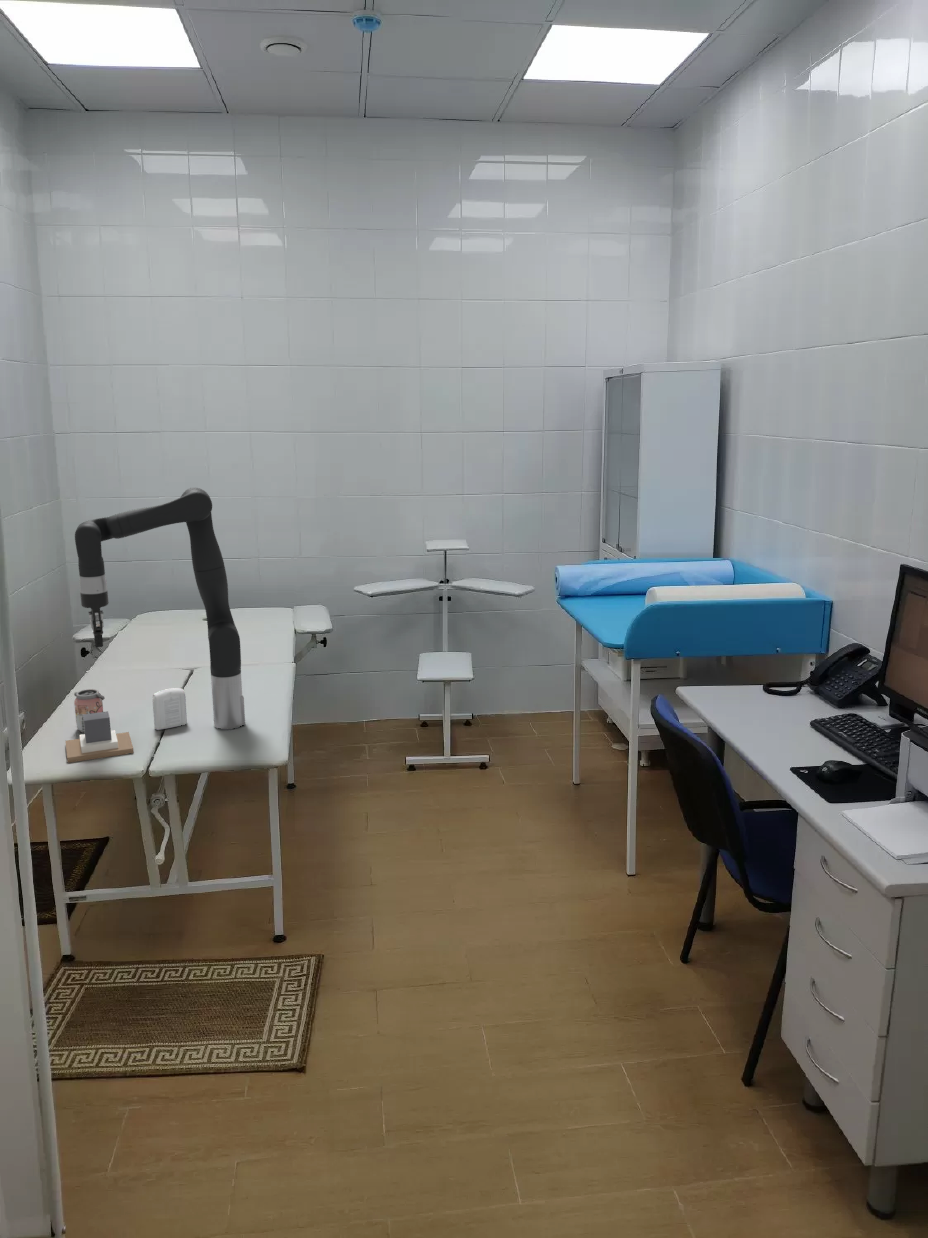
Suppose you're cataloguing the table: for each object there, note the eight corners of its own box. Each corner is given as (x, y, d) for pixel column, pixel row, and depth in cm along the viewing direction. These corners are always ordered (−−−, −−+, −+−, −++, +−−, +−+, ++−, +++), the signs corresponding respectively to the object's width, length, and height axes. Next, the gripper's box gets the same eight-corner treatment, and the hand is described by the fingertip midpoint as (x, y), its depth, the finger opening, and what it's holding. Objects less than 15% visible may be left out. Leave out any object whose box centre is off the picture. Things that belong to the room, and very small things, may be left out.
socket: (129, 736, 290) (128, 725, 289) (133, 753, 278) (132, 742, 277) (65, 745, 283) (64, 734, 282) (67, 762, 271) (66, 751, 270)
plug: (110, 737, 284) (108, 711, 282) (112, 744, 279) (109, 717, 277) (85, 741, 281) (82, 714, 279) (86, 748, 276) (83, 720, 274)
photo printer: (184, 720, 304) (182, 684, 300) (189, 724, 300) (186, 688, 297) (152, 727, 298) (149, 690, 295) (157, 731, 294) (153, 694, 291)
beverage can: (86, 722, 302) (82, 686, 299) (111, 723, 301) (108, 687, 298) (71, 732, 293) (67, 696, 290) (97, 734, 292) (93, 697, 289)
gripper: (109, 593, 273) (114, 651, 278) (105, 584, 285) (110, 639, 290) (81, 596, 270) (87, 654, 275) (78, 586, 282) (84, 642, 287)
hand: (99, 646), depth 282 cm, fingers closed
